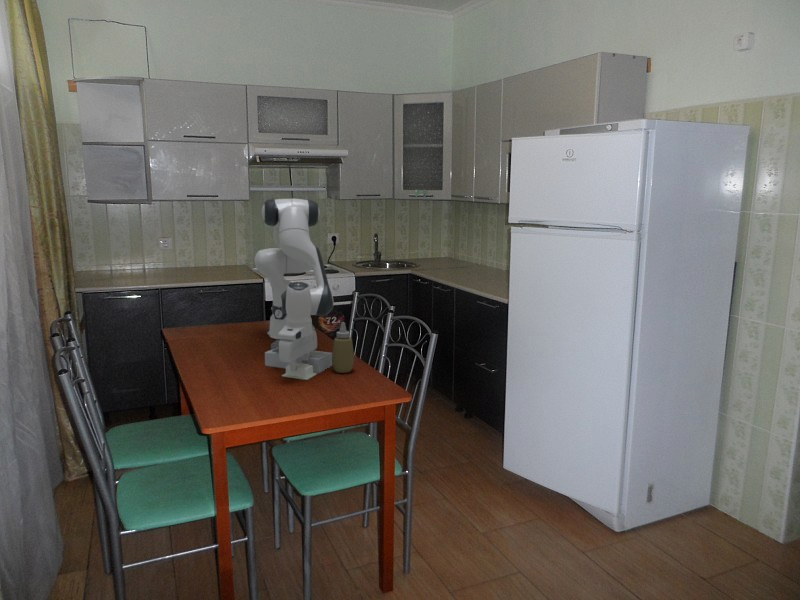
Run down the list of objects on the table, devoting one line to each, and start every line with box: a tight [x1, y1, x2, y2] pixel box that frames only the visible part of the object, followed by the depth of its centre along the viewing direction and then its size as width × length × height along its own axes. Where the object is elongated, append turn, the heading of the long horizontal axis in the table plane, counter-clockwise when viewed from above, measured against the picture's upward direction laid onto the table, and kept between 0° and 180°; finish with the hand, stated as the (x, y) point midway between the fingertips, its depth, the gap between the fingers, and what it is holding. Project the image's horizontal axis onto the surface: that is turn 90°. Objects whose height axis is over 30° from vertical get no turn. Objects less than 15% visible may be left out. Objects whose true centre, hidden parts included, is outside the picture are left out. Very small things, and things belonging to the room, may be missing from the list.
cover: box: [285, 362, 314, 378], centre depth 213 cm, size 5×8×4 cm, turn 69°
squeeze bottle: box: [332, 321, 355, 374], centre depth 218 cm, size 8×8×18 cm
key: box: [270, 338, 280, 350], centre depth 223 cm, size 2×10×4 cm, turn 170°
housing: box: [264, 347, 333, 374], centre depth 225 cm, size 10×22×5 cm, turn 69°
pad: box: [281, 372, 318, 381], centre depth 214 cm, size 7×10×1 cm
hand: (299, 368), depth 213 cm, fingers open, 6 cm apart
